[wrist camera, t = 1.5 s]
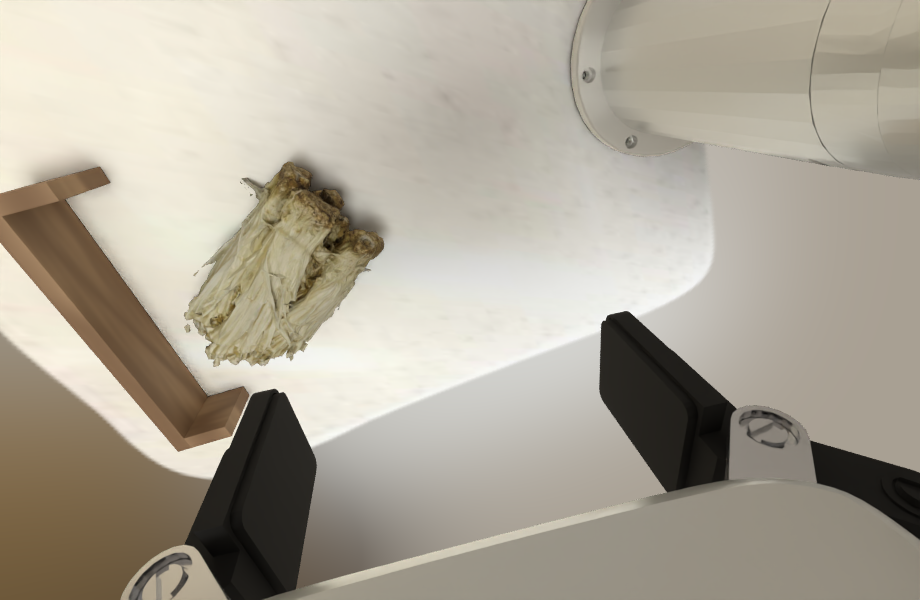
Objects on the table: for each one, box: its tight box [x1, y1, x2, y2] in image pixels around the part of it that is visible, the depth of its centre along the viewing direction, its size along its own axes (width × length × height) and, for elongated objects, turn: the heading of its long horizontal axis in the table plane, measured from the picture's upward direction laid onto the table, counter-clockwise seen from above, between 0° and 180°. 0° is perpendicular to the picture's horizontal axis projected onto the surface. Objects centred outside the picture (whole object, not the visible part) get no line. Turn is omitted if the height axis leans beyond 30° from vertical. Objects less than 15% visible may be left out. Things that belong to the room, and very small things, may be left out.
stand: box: [0, 167, 249, 452], centre depth 27 cm, size 4×19×4 cm, turn 13°
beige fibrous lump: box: [184, 162, 384, 367], centre depth 27 cm, size 14×10×5 cm, turn 139°
